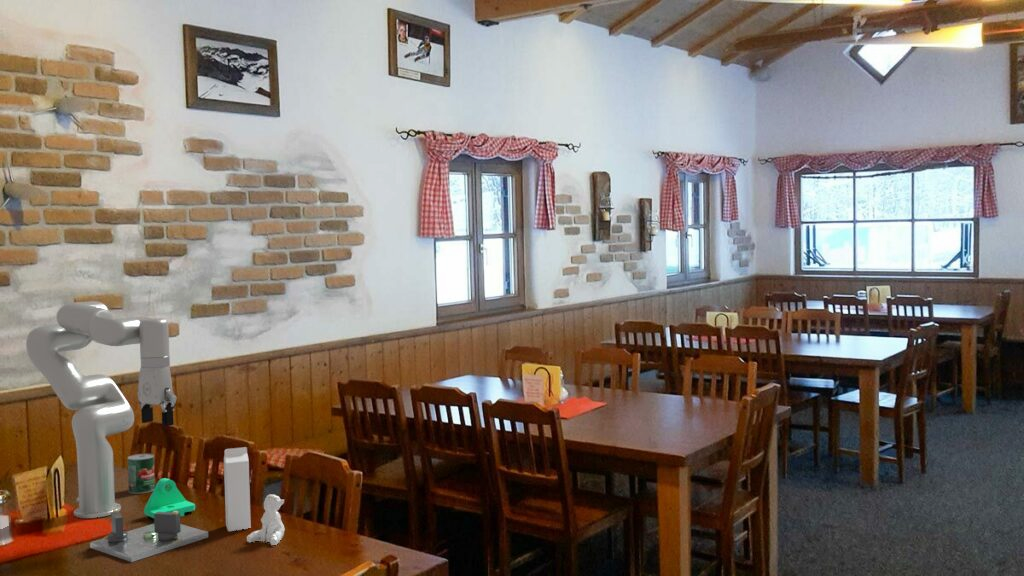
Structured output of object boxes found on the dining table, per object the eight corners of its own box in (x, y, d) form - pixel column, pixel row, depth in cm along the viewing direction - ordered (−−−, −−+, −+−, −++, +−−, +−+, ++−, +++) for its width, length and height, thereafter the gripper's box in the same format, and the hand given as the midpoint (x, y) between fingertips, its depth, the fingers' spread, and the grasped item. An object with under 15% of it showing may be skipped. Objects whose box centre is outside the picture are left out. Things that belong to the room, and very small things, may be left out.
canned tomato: (149, 493, 282) (147, 459, 281) (124, 494, 282) (122, 459, 281) (159, 486, 290) (158, 453, 289) (135, 487, 290) (133, 453, 289)
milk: (250, 528, 245) (248, 449, 243) (227, 532, 242) (225, 451, 241) (248, 522, 250) (245, 444, 249) (225, 525, 248) (223, 447, 247)
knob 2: (162, 534, 236) (161, 507, 236) (184, 535, 235) (183, 508, 234) (151, 540, 231) (150, 513, 231) (173, 541, 230) (172, 514, 230)
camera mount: (156, 523, 252) (154, 487, 251) (144, 517, 257) (143, 482, 257) (196, 513, 260) (195, 478, 260) (184, 508, 266) (183, 474, 265)
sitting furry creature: (245, 543, 233) (243, 497, 232) (265, 532, 241) (264, 488, 240) (275, 546, 230) (273, 500, 229) (295, 536, 238) (293, 492, 237)
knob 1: (110, 544, 228) (108, 517, 228) (105, 538, 234) (104, 511, 233) (130, 541, 231) (129, 514, 231) (125, 534, 236) (124, 508, 236)
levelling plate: (90, 547, 231) (89, 538, 231) (166, 525, 249) (166, 516, 249) (131, 562, 220) (131, 552, 220) (208, 537, 238) (207, 528, 238)
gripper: (125, 362, 250) (127, 423, 251) (161, 366, 240) (163, 429, 241) (149, 359, 256) (152, 418, 257) (185, 363, 246) (187, 424, 247)
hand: (157, 423), depth 249 cm, fingers open, 9 cm apart
